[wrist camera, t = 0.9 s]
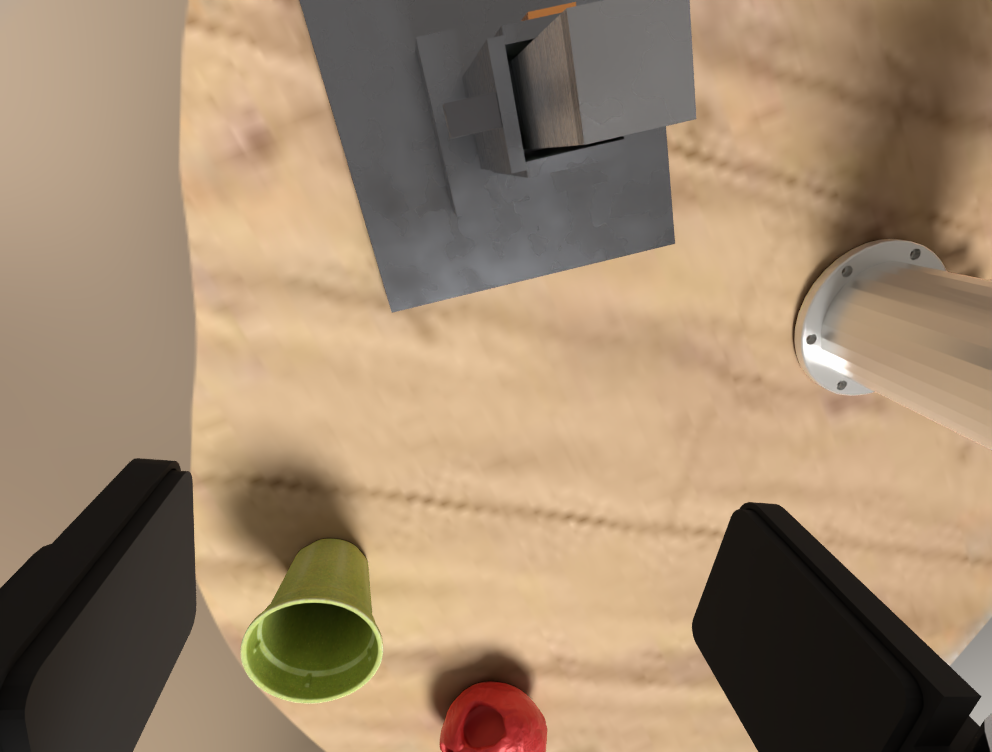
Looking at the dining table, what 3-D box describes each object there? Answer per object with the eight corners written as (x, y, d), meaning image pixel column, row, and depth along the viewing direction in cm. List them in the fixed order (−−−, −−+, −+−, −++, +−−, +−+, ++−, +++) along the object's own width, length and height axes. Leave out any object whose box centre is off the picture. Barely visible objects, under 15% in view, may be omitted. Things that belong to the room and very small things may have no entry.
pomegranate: (556, 686, 55) (585, 784, 46) (495, 750, 57) (513, 855, 48) (477, 653, 51) (494, 752, 43) (416, 722, 53) (421, 830, 45)
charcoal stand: (636, -106, 31) (824, -326, 17) (665, 240, 39) (811, 287, 25) (291, -35, 30) (186, -207, 16) (392, 306, 38) (382, 395, 24)
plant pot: (264, 606, 46) (233, 700, 38) (277, 512, 43) (247, 593, 35) (376, 615, 48) (369, 706, 40) (397, 527, 45) (394, 606, 37)
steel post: (543, 72, 29) (691, -24, 14) (554, 140, 30) (700, 122, 15) (481, 86, 29) (562, 4, 14) (494, 154, 30) (581, 149, 15)
